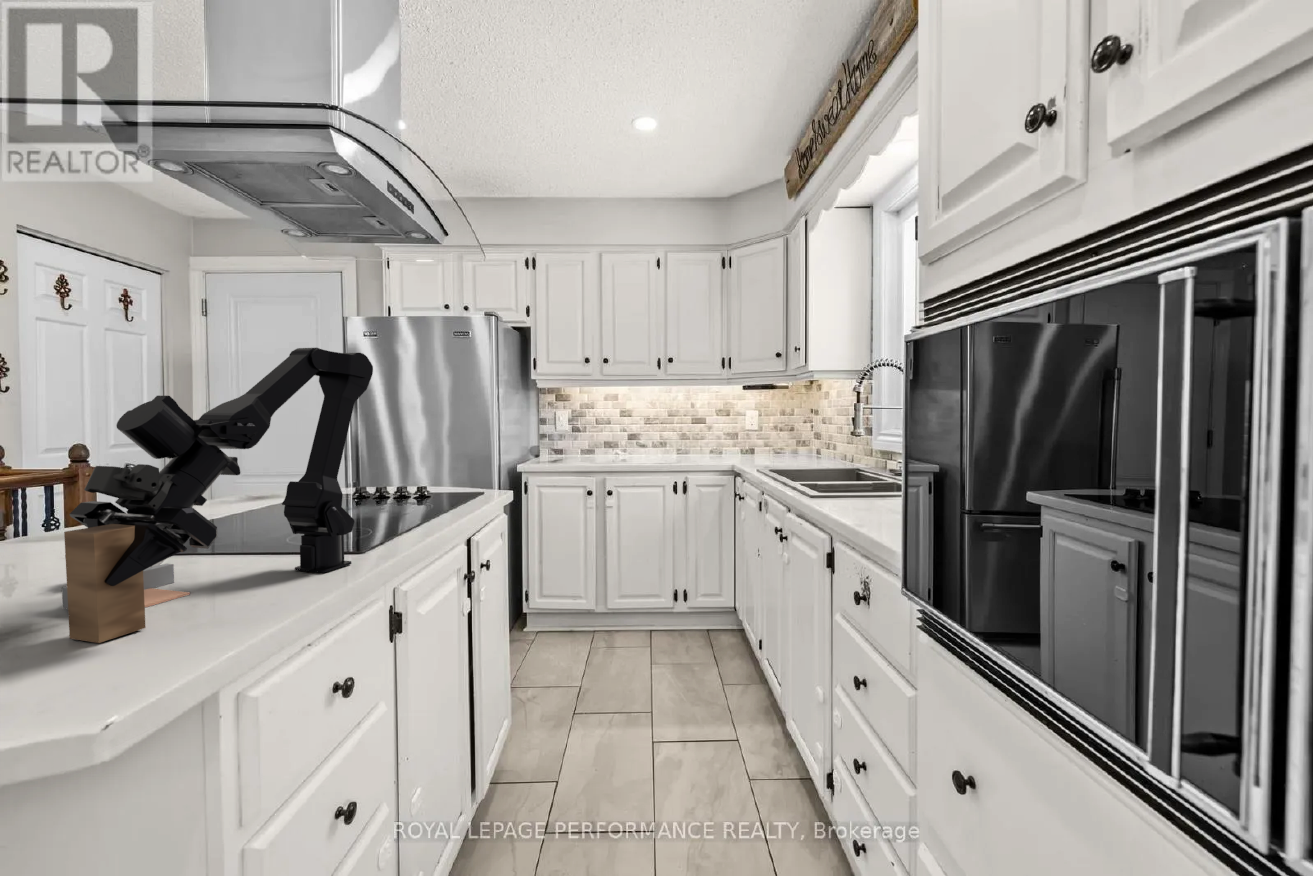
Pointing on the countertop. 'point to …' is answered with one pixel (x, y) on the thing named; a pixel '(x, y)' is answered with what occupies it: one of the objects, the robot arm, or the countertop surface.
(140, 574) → the walnut block
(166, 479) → the robot arm
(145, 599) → the pad
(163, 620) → the countertop surface
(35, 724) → the countertop surface
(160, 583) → the corner bracket
